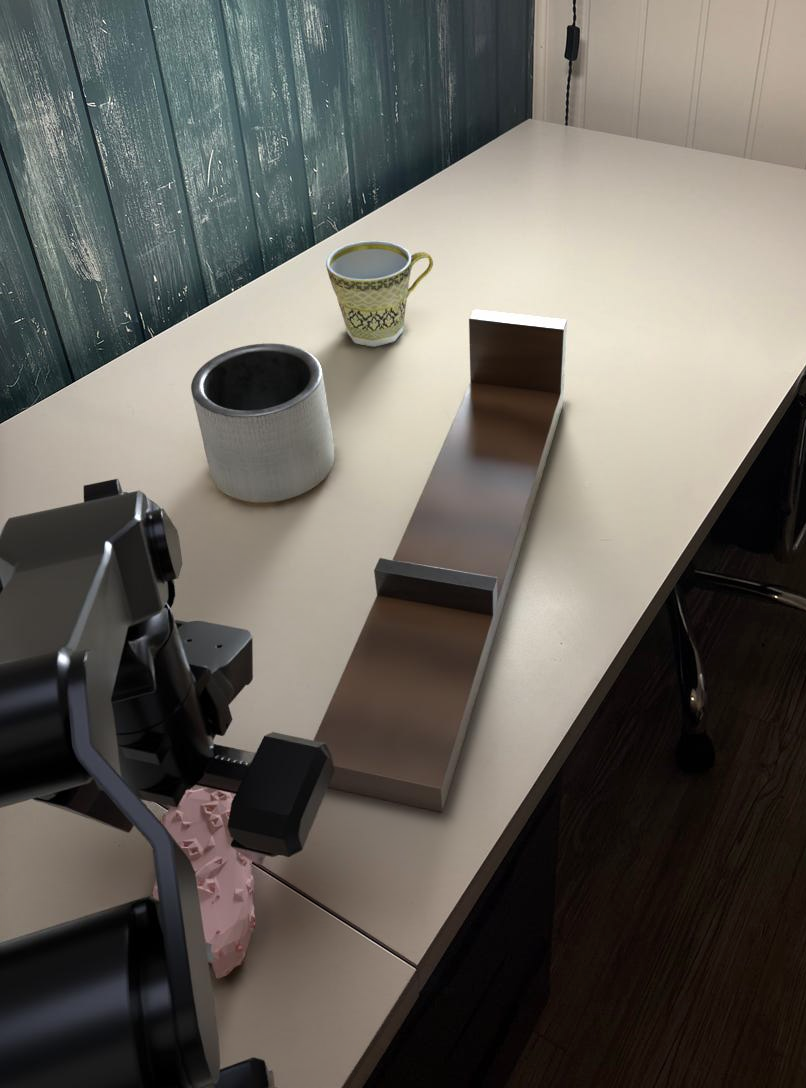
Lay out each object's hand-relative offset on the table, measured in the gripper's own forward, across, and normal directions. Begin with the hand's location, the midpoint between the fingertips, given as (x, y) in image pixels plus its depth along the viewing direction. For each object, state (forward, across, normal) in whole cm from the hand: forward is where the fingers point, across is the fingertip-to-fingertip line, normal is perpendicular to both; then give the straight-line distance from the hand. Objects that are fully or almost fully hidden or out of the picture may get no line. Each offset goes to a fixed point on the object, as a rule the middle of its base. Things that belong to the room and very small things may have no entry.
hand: (195, 840), depth 61 cm
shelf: (+5, -9, -33) cm, 35 cm away
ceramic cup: (+5, +10, -69) cm, 70 cm away
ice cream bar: (+5, 0, 0) cm, 5 cm away
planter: (+5, +13, -41) cm, 43 cm away
